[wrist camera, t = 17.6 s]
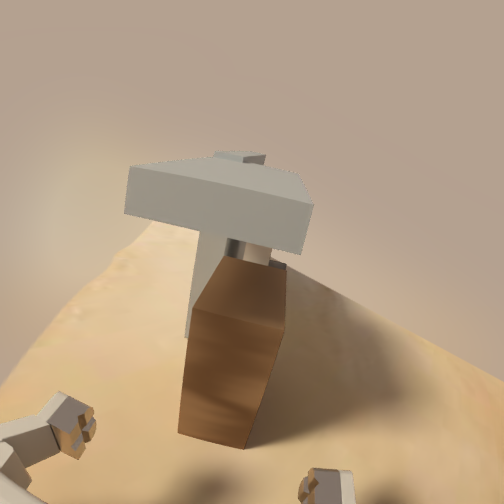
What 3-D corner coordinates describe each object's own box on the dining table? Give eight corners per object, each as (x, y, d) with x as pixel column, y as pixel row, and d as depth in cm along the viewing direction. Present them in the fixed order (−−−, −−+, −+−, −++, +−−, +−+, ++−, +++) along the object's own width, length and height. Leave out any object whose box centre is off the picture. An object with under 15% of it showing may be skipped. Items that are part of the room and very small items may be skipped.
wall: (269, 264, 46) (294, 161, 41) (229, 476, 14) (317, 191, 9) (230, 254, 46) (251, 151, 41) (126, 445, 14) (131, 154, 9)
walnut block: (255, 378, 23) (286, 270, 20) (243, 449, 16) (284, 330, 13) (204, 365, 23) (223, 255, 20) (177, 432, 16) (192, 307, 13)
